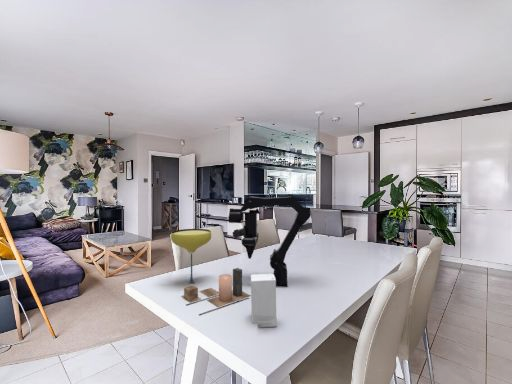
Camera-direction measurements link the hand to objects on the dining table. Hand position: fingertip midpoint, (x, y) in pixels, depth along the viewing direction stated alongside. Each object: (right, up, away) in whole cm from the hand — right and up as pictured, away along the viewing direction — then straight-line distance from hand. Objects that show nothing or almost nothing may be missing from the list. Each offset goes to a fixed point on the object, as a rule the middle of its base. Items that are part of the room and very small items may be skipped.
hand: (250, 256), depth 124 cm
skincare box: (+5, -14, -36) cm, 39 cm away
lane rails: (-11, -13, -22) cm, 28 cm away
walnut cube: (-23, -12, -19) cm, 33 cm away
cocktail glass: (-27, -13, -3) cm, 30 cm away
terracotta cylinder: (-10, -12, -21) cm, 26 cm away
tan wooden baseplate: (-8, -13, -20) cm, 25 cm away
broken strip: (-20, -13, -17) cm, 29 cm away
